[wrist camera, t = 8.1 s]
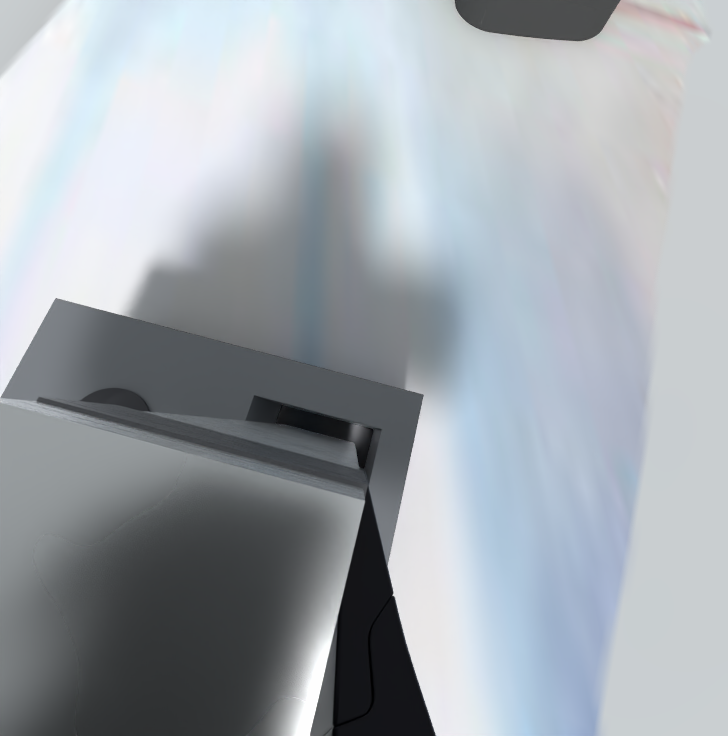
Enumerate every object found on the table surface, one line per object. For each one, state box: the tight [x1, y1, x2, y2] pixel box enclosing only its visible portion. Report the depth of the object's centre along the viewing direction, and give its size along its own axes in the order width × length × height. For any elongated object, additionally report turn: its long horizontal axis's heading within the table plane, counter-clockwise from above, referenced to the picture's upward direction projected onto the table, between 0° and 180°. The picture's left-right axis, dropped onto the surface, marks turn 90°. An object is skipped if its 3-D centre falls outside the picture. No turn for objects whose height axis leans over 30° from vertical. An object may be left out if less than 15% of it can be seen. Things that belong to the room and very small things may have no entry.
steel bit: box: [0, 397, 368, 736], centre depth 9 cm, size 4×4×13 cm
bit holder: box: [1, 298, 423, 566], centre depth 14 cm, size 10×18×5 cm, turn 75°
